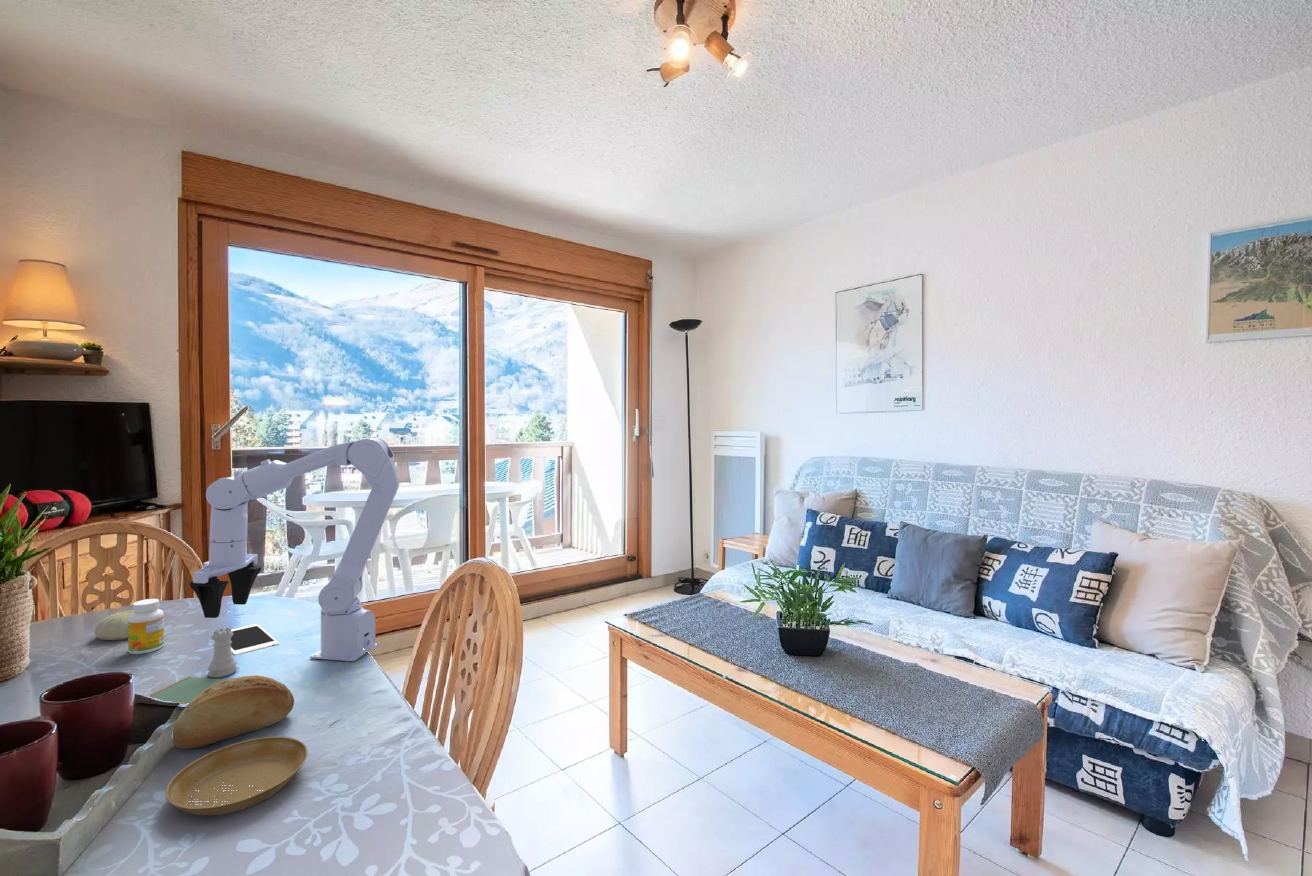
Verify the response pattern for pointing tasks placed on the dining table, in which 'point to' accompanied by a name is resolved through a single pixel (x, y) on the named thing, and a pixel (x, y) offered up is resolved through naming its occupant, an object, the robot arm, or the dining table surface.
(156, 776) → the dining table surface
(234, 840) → the dining table surface
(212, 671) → the rook chess piece
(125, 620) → the sea urchin shell
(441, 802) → the dining table surface
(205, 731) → the bread roll
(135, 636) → the supplement bottle
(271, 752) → the plant saucer
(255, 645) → the cell phone
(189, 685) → the green chalkboard
